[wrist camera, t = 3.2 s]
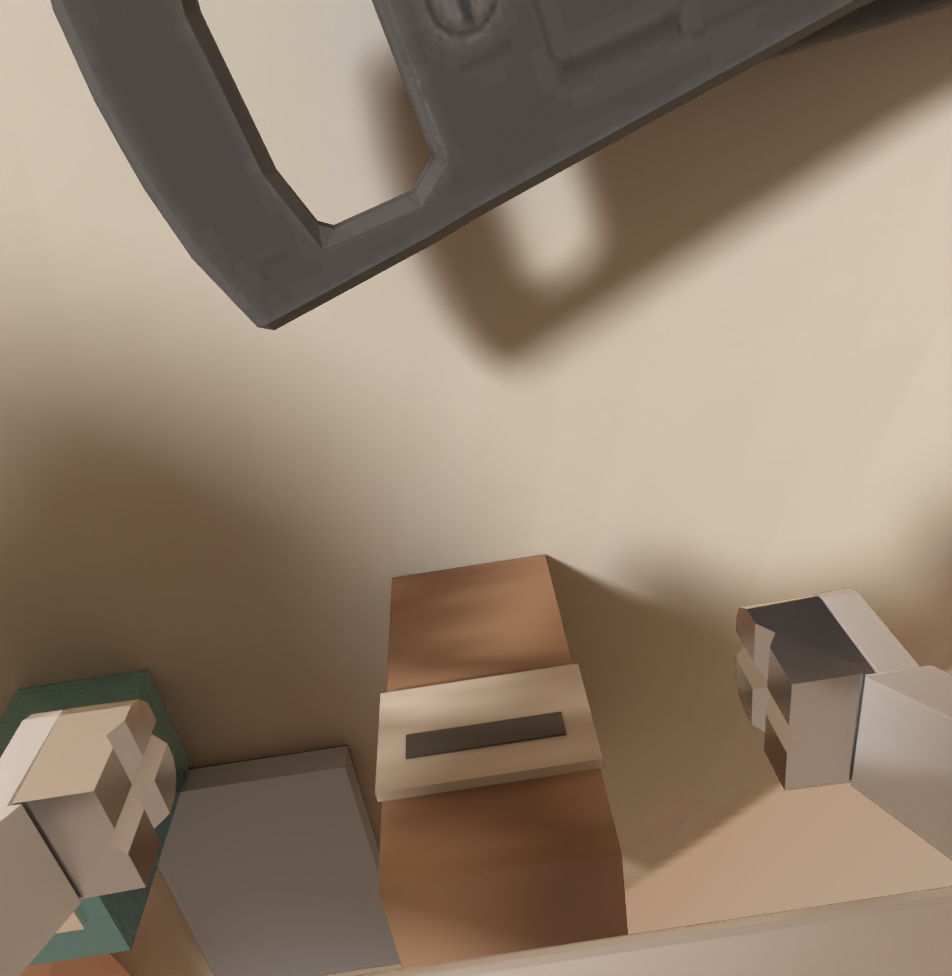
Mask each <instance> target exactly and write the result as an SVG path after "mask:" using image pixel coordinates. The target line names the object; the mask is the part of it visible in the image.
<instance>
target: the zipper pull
mask: <svg viewBox="0 0 952 976" xmlns="http://www.w3.org/2000/svg"><path fill="white" fill-rule="evenodd" d="M372 2H373V5H374V7H375V10H376V12H377V15H378V18H379V20H380V23H381V25H382V28H383V30H384V33H385V36H386V38H387V41H388V43H389V46H390V49H391V51H392V54H393V56H394V59H395V62H396V64H397V67H398V69H399V72H400V75H401V77H402V80H403V82H404V85H405V88H406V90H407V93H408V95H409V98H410V101H411V103H412V106H413V108H414V111H415V114H416V116H417V119H418V121H419V124H420V127H421V129H422V132H423V134H424V137H425V140H426V142H427V145H428V147H429V150H430V152H431V157H430V159H429V161H428V162H427V164H426V166H425V168H424V169H423V171H422V173H421V175H420V176H419V178H418V180H417V181H416V183H415V185H414V187H413V188H412V190H411V191H409V192H406V193H404V194H402V195H400V196H398V197H395V198H393V199H391V200H389V201H386V202H384V203H382V204H380V205H378V206H375V207H373V208H371V209H369V210H366V211H364V212H362V213H360V214H358V215H355V216H353V217H351V218H349V219H346V220H344V221H342V222H340V223H338V224H335V225H331V224H328V223H324V222H320V221H317V220H316V218H315V217H314V216H313V215H312V213H311V212H310V211H309V210H308V208H307V207H306V206H305V205H304V203H303V202H302V201H301V200H300V198H299V197H298V196H297V195H296V193H295V192H294V191H293V190H292V188H291V187H290V186H289V185H288V183H287V182H286V181H285V180H284V178H283V177H282V176H281V174H280V173H279V172H278V171H277V169H276V167H275V165H274V163H273V161H272V159H271V157H270V155H269V153H268V151H267V149H266V147H265V144H264V142H263V140H262V138H261V136H260V134H259V132H258V130H257V128H256V126H255V124H254V122H253V119H252V117H251V115H250V113H249V111H248V109H247V107H246V105H245V103H244V101H243V99H242V97H241V94H240V92H239V90H238V88H237V86H236V84H235V82H234V80H233V78H232V76H231V74H230V72H229V69H228V67H227V65H226V63H225V61H224V59H223V57H222V55H221V53H220V51H219V49H218V47H217V44H216V42H215V40H214V38H213V36H212V34H211V32H210V30H209V28H208V26H207V24H206V21H205V19H204V17H203V15H202V13H201V11H200V7H199V2H198V0H51V4H52V7H53V11H54V13H55V15H56V17H57V19H58V22H59V24H60V26H61V28H62V30H63V33H64V35H65V37H66V39H67V41H68V44H69V46H70V48H71V50H72V52H73V55H74V57H75V59H76V61H77V63H78V66H79V68H80V70H81V72H82V74H83V77H84V79H85V81H86V83H87V85H88V88H89V90H90V92H91V94H92V96H93V99H94V101H95V103H96V104H97V106H98V108H99V110H100V112H101V113H102V115H103V117H104V119H105V121H106V122H107V124H108V126H109V128H110V130H111V131H112V133H113V135H114V137H115V139H116V140H117V142H118V144H119V146H120V148H121V149H122V151H123V153H124V155H125V156H126V158H127V160H128V162H129V163H130V165H131V167H132V169H133V170H134V172H135V174H136V176H137V177H138V179H139V181H140V183H141V184H142V186H143V188H144V189H145V191H146V192H147V194H148V195H149V197H150V198H151V200H152V201H153V202H154V204H155V205H156V207H157V208H158V210H159V211H160V213H161V214H162V216H163V217H164V218H165V220H166V221H167V223H168V224H169V226H170V227H171V229H172V230H173V231H174V233H175V234H176V236H177V237H178V239H179V240H180V242H181V243H182V245H183V246H184V247H185V249H186V250H187V252H188V253H189V255H190V256H191V258H192V259H193V260H194V261H195V262H196V263H197V264H198V265H199V266H200V267H201V268H202V269H203V270H204V271H205V272H206V273H207V274H208V276H209V277H210V278H211V279H212V280H213V281H214V282H215V283H216V284H217V285H218V286H219V287H220V288H221V289H222V290H223V291H224V292H225V293H226V294H227V295H228V297H229V298H230V299H231V300H232V301H233V302H234V303H235V304H236V305H237V306H238V307H239V308H240V309H241V310H242V311H243V312H244V313H245V314H246V315H247V316H248V317H249V319H250V320H251V321H252V322H253V323H254V324H255V325H256V326H257V327H260V328H265V329H271V330H276V329H277V328H279V327H281V326H283V325H285V324H287V323H288V322H290V321H292V320H294V319H296V318H298V317H299V316H301V315H303V314H305V313H307V312H309V311H311V310H312V309H314V308H316V307H318V306H320V305H322V304H323V303H325V302H327V301H329V300H331V299H333V298H334V297H336V296H338V295H340V294H342V293H344V292H346V291H347V290H349V289H351V288H353V287H355V286H357V285H358V284H360V283H362V282H364V281H366V280H368V279H370V278H371V277H373V276H375V275H377V274H379V273H381V272H382V271H384V270H386V269H388V268H390V267H392V266H393V265H395V264H397V263H399V262H401V261H403V260H405V259H406V258H408V257H410V256H412V255H414V254H416V253H417V252H419V251H421V250H423V249H425V248H427V247H428V246H430V245H432V244H434V243H436V242H437V241H439V240H441V239H442V238H444V237H446V236H447V235H449V234H451V233H452V232H454V231H456V230H457V229H459V228H461V227H462V226H464V225H465V224H467V223H469V222H470V221H472V220H474V219H475V218H477V217H479V216H481V215H483V214H484V213H486V212H488V211H490V210H492V209H493V208H495V207H497V206H499V205H501V204H503V203H504V202H506V201H508V200H510V199H512V198H513V197H515V196H517V195H519V194H521V193H523V192H524V191H526V190H528V189H530V188H532V187H534V186H535V185H537V184H539V183H541V182H543V181H544V180H546V179H548V178H550V177H552V176H554V175H555V174H557V173H559V172H561V171H563V170H564V169H566V168H568V167H570V166H572V165H574V164H575V163H577V162H579V161H581V160H583V159H584V158H586V157H588V156H590V155H592V154H594V153H595V152H597V151H599V150H601V149H603V148H604V147H606V146H608V145H610V144H612V143H614V142H615V141H617V140H619V139H621V138H623V137H625V136H626V135H628V134H630V133H632V132H634V131H635V130H637V129H639V128H641V127H643V126H645V125H646V124H648V123H650V122H652V121H654V120H655V119H657V118H659V117H661V116H663V115H665V114H666V113H668V112H670V111H672V110H674V109H675V108H677V107H679V106H681V105H683V104H685V103H686V102H688V101H690V100H692V99H694V98H695V97H697V96H699V95H701V94H703V93H705V92H706V91H708V90H710V89H712V88H714V87H716V86H717V85H719V84H721V83H723V82H725V81H726V80H728V79H730V78H732V77H734V76H736V75H737V74H739V73H741V72H743V71H745V70H746V69H748V68H750V67H752V66H754V65H756V64H757V63H759V62H761V61H764V60H767V59H771V58H774V57H777V56H781V55H784V54H788V53H791V52H794V51H798V50H801V49H805V48H808V47H811V46H815V45H818V44H821V43H825V42H828V41H832V40H835V39H838V38H842V37H845V36H849V35H852V34H855V33H859V32H862V31H865V30H869V29H872V28H876V27H879V26H882V25H886V24H889V23H893V22H896V21H899V20H903V19H906V18H909V17H913V16H916V15H920V14H923V13H926V12H930V11H933V10H936V9H940V8H943V7H947V6H950V5H952V0H372Z"/></svg>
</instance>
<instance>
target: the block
mask: <svg viewBox="0 0 952 976" xmlns="http://www.w3.org/2000/svg"><path fill="white" fill-rule="evenodd" d="M20 976H131V975H130V974H129V973H128V972H127V971H126V970H125V969H124V968H123V967H122V966H121V965H120V963H119V962H118V961H117V960H116V959H115V958H114V957H113V956H112V955H111V954H103V955H96V956H90V957H83V958H76V959H70V960H63V961H57V962H50V963H43V964H37V965H30V966H27V968H26V969H25V970H24V971H23V972H22V973H21V975H20Z"/></svg>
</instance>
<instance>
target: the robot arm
mask: <svg viewBox="0 0 952 976" xmlns="http://www.w3.org/2000/svg"><path fill="white" fill-rule="evenodd" d="M736 631H737V633H738V635H739V637H740V639H741V641H742V642H743V644H744V647H743V648H742V649H741V650H740V652H739V653H738V654H737V655H736V679H737V684H738V690H739V695H740V698H741V701H742V704H743V707H744V710H745V712H746V714H747V716H748V718H749V720H750V722H751V724H752V725H753V726H755V727H756V728H758V729H760V730H761V731H763V732H764V733H765V748H764V751H765V753H766V754H767V756H768V758H769V760H770V762H771V764H772V766H773V768H774V770H775V772H776V774H777V776H778V778H779V780H780V782H781V784H782V786H783V788H784V790H793V789H801V788H808V787H817V786H825V785H833V784H841V783H849V782H852V783H851V786H853V787H854V788H855V789H857V790H858V791H859V792H861V793H862V794H863V795H865V796H866V797H867V798H869V799H870V800H872V801H873V802H874V803H876V804H877V805H878V806H880V807H881V808H882V809H884V810H885V811H886V812H888V813H889V814H890V815H892V816H893V817H894V818H896V819H897V820H898V821H900V822H901V823H903V824H904V825H905V826H906V827H908V828H909V829H910V830H912V831H913V832H915V833H916V834H918V835H919V836H920V837H921V838H923V839H924V840H925V841H927V842H928V843H929V844H931V845H932V846H933V847H935V848H936V849H937V850H939V851H940V852H941V853H943V854H944V855H946V856H947V857H948V858H950V859H951V860H952V674H950V673H948V672H946V671H943V670H941V669H939V668H937V667H935V666H932V665H928V666H921V667H920V666H919V665H918V664H917V662H916V661H915V660H914V659H913V658H912V656H911V655H910V654H909V653H908V652H907V650H906V649H905V648H904V647H903V646H902V644H901V643H900V642H899V641H898V640H897V638H896V637H895V636H894V635H893V634H892V632H891V631H890V630H889V629H888V628H887V626H886V625H885V624H884V623H883V622H882V620H881V619H880V618H879V617H878V616H877V614H876V613H875V612H874V611H873V610H872V608H871V607H870V606H869V605H868V604H867V602H866V601H865V600H864V599H863V598H862V596H861V595H860V594H859V593H858V592H857V591H855V590H853V589H851V588H848V589H842V590H836V591H831V592H825V593H819V594H814V595H813V596H807V597H800V598H794V599H788V600H782V601H775V602H769V603H763V604H757V605H750V606H744V607H740V608H739V611H738V614H737V625H736ZM155 723H156V718H155V716H154V714H153V712H152V710H151V708H150V706H149V704H148V702H145V701H142V700H139V699H138V700H131V701H123V702H115V703H108V704H100V705H92V706H85V707H77V708H69V709H68V710H59V711H51V712H44V713H36V714H32V715H30V716H29V717H27V718H26V719H24V720H23V721H22V722H21V724H20V726H19V727H18V729H17V731H16V732H15V734H14V736H13V737H12V739H11V741H10V742H9V744H8V746H7V748H6V749H5V751H4V753H3V754H2V756H1V758H0V976H20V975H21V973H22V972H23V971H24V970H25V969H26V968H27V966H28V965H29V964H30V963H31V962H32V960H33V959H34V958H35V957H36V956H37V955H38V953H39V952H40V951H41V950H42V949H43V947H44V946H45V945H46V944H47V943H48V942H49V940H50V939H51V938H52V937H53V936H54V934H55V933H56V932H57V931H58V930H59V929H60V927H61V926H62V925H63V924H64V923H65V921H66V920H67V919H68V918H69V917H70V916H71V914H72V913H73V912H74V911H75V910H76V908H77V907H78V906H79V905H80V904H81V900H80V899H84V898H90V897H95V896H101V895H106V894H112V893H117V892H123V891H128V890H134V889H139V888H145V887H146V886H147V882H148V879H149V876H150V873H151V870H152V867H153V864H154V861H155V858H156V855H157V852H158V849H159V846H160V843H161V842H160V840H159V838H158V836H157V834H156V832H155V830H154V829H155V828H156V827H157V826H158V825H159V824H160V823H161V822H162V821H163V820H164V819H165V818H166V817H167V816H168V815H169V814H170V811H171V808H172V805H173V801H174V798H175V792H176V769H175V764H174V759H173V755H172V753H171V751H170V748H169V746H168V744H167V743H166V742H164V741H163V740H161V739H159V738H158V737H156V736H154V735H153V734H151V733H152V731H153V728H154V725H155ZM357 976H952V886H950V887H943V888H936V889H930V890H923V891H916V892H910V893H903V894H896V895H890V896H883V897H876V898H869V899H863V900H856V901H849V902H843V903H836V904H829V905H823V906H816V907H809V908H803V909H796V910H790V911H783V912H776V913H769V914H763V915H756V916H750V917H743V918H736V919H729V920H723V921H717V922H710V923H703V924H696V925H690V926H684V927H677V928H670V929H663V930H656V931H650V932H643V933H636V934H630V935H623V936H616V937H610V938H603V939H596V940H590V941H583V942H577V943H570V944H563V945H557V946H550V947H543V948H537V949H530V950H523V951H517V952H510V953H503V954H497V955H490V956H483V957H477V958H470V959H463V960H457V961H450V962H443V963H437V964H430V965H423V966H417V967H410V968H403V969H397V970H390V971H383V972H377V973H370V974H363V975H357Z"/></svg>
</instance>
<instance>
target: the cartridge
mask: <svg viewBox="0 0 952 976" xmlns="http://www.w3.org/2000/svg"><path fill="white" fill-rule="evenodd" d="M138 699H139V700H142V701H145V702H148V704H149V706H150V708H151V710H152V712H153V714H154V716H155V718H156V723H155V725H154V728H153V731H152V733H151V734H153V735H154V736H156V737H158V738H159V739H161V740H163V741H164V742H166V743H167V744H168V746H169V748H170V751H171V753H172V755H173V759H174V764H175V769H176V792H175V798H174V801H173V805H172V808H171V811H170V814H169V815H168V816H167V817H166V818H165V819H164V820H163V821H162V822H161V823H160V824H159V825H158V826H157V827H156V828H155V829H154V830H155V832H156V834H157V836H158V838H159V840H160V842H161V843H160V846H159V849H158V852H157V855H156V858H155V861H154V864H153V867H152V870H151V873H150V876H149V879H148V882H147V886H146V887H145V888H139V889H134V890H128V891H123V892H117V893H112V894H106V895H101V896H95V897H90V898H84V899H80V900H81V904H80V905H79V906H78V907H77V908H76V910H75V911H74V912H73V913H72V914H71V916H70V917H69V918H68V919H67V920H66V921H65V923H64V924H63V925H62V926H61V927H60V929H59V930H58V931H57V932H56V933H55V934H54V936H53V937H52V938H51V939H50V940H49V942H48V943H47V944H46V945H45V946H44V947H43V949H42V950H41V951H40V952H39V953H38V955H37V956H36V957H35V958H34V959H33V960H32V962H31V963H30V964H29V965H28V966H30V965H37V964H43V963H50V962H57V961H63V960H70V959H76V958H83V957H90V956H96V955H103V954H110V953H116V952H123V951H130V950H131V948H132V944H133V941H134V938H135V935H136V932H137V929H138V925H139V922H140V919H141V916H142V913H143V910H144V907H145V903H146V900H147V897H148V894H149V891H150V888H151V884H152V881H153V878H154V875H155V872H156V869H157V865H158V862H159V859H160V856H161V853H162V850H163V846H164V843H165V840H166V837H167V834H168V831H169V827H170V824H171V821H172V818H173V815H174V812H175V809H176V805H177V802H178V799H179V796H180V793H181V790H182V786H183V783H184V780H185V777H186V774H187V771H188V767H189V764H190V761H189V759H188V756H187V754H186V752H185V750H184V747H183V745H182V743H181V741H180V738H179V736H178V734H177V732H176V729H175V727H174V725H173V723H172V720H171V718H170V716H169V714H168V711H167V709H166V707H165V705H164V702H163V700H162V698H161V696H160V693H159V691H158V689H157V687H156V684H155V682H154V680H153V678H152V675H151V673H150V671H149V669H146V670H140V671H133V672H127V673H120V674H114V675H107V676H101V677H94V678H88V679H81V680H75V681H68V682H62V683H55V684H49V685H42V686H36V687H29V688H23V689H18V690H17V691H16V693H15V695H14V696H13V698H12V700H11V701H10V703H9V704H8V706H7V708H6V709H5V711H4V712H3V714H2V716H1V717H0V758H1V756H2V754H3V753H4V751H5V749H6V748H7V746H8V744H9V742H10V741H11V739H12V737H13V736H14V734H15V732H16V731H17V729H18V727H19V726H20V724H21V722H22V721H23V720H24V719H26V718H27V717H29V716H30V715H32V714H36V713H44V712H51V711H59V710H68V709H69V708H77V707H85V706H92V705H100V704H108V703H115V702H123V701H131V700H138Z"/></svg>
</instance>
